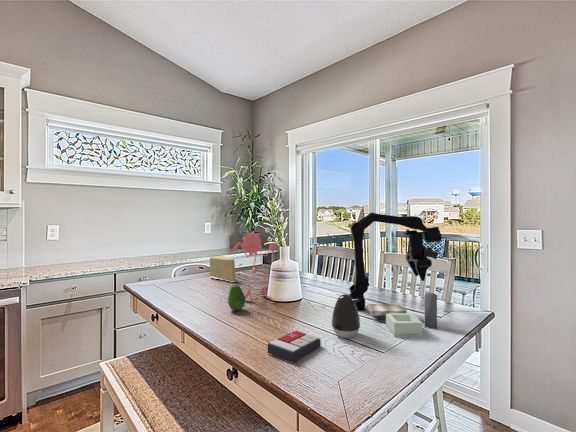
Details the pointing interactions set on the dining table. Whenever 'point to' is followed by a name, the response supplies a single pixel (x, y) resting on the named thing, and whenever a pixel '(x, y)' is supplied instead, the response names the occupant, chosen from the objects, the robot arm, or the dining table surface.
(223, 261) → the cheese
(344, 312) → the dark egg shaped device
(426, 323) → the dark grey block
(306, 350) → the red and grey box
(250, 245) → the figurine
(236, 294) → the avocado
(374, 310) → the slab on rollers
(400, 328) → the socket stand
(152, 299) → the dining table surface
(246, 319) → the dining table surface
